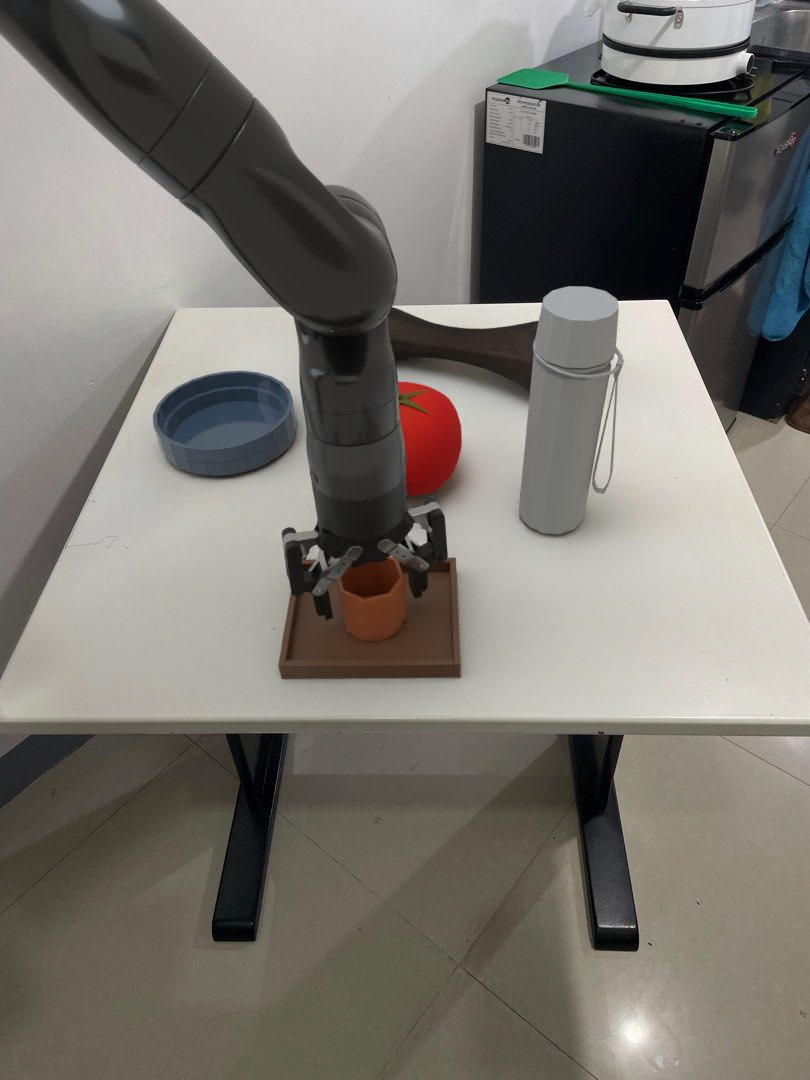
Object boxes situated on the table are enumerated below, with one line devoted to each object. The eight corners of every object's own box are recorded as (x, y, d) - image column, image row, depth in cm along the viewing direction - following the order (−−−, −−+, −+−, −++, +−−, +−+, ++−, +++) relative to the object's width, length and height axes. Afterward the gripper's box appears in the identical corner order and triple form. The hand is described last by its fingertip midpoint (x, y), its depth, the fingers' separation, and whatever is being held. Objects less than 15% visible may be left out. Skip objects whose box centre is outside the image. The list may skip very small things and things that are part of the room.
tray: (281, 678, 67) (277, 665, 65) (298, 572, 76) (296, 559, 75) (460, 677, 66) (460, 664, 65) (455, 570, 75) (455, 557, 74)
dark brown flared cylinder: (576, 399, 100) (393, 380, 111) (587, 319, 97) (398, 308, 109) (557, 403, 91) (359, 382, 102) (568, 314, 88) (363, 303, 99)
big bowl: (166, 491, 86) (155, 461, 83) (159, 413, 98) (150, 384, 95) (308, 463, 89) (303, 432, 86) (285, 390, 101) (280, 361, 98)
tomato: (482, 464, 88) (485, 379, 80) (420, 531, 80) (417, 445, 72) (393, 431, 93) (388, 349, 85) (327, 492, 85) (315, 407, 77)
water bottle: (508, 531, 79) (526, 317, 62) (527, 487, 84) (548, 277, 67) (593, 551, 77) (638, 333, 59) (607, 504, 82) (652, 291, 64)
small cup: (351, 648, 68) (344, 606, 64) (337, 602, 72) (330, 560, 68) (411, 633, 69) (409, 590, 65) (395, 588, 73) (392, 546, 69)
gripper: (429, 423, 61) (431, 558, 73) (260, 456, 59) (290, 591, 70) (459, 477, 56) (456, 613, 68) (275, 516, 54) (304, 651, 65)
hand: (371, 602), depth 69 cm, fingers open, 8 cm apart
